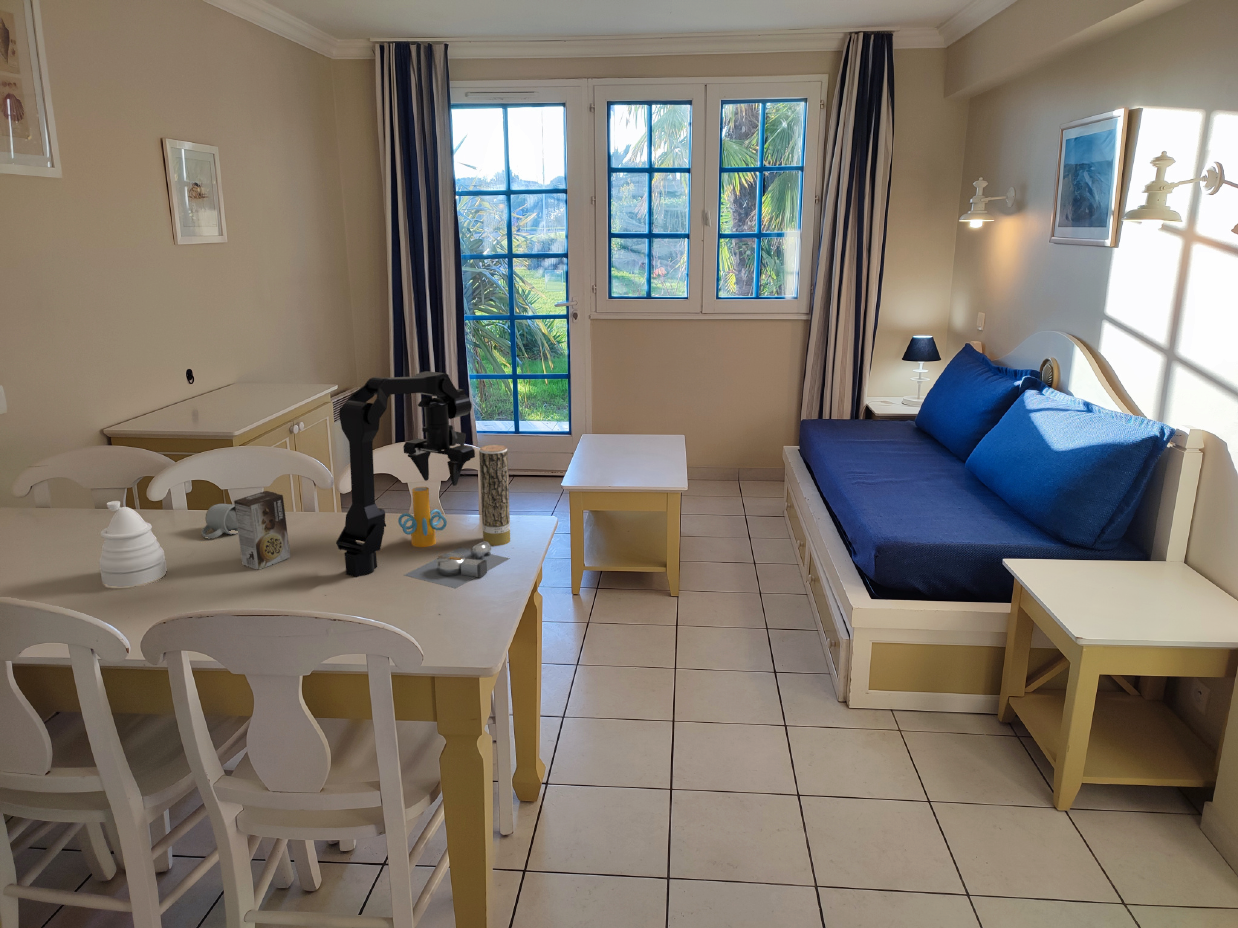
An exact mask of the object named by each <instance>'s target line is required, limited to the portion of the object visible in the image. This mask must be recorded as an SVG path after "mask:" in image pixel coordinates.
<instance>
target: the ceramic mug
mask: <svg viewBox="0 0 1238 928" xmlns="http://www.w3.org/2000/svg"><path fill="white" fill-rule="evenodd" d="M204 518H205V523H206V525H205V526H204V527H203V528H202V529H201V536H202V537H203V536H204V537H208V538H214V537H216V538H218V537H219V536H221V535H222V534H228V535H232V534H236V533H230V532H229V531H231V530H235V531H238V527H237V519H236V512H235V504H232V503H231V504H229V503H218V504H214V505H212V506H210V507H209V508H208V509H207V511H206V513H205V517H204ZM209 530H212V531H214V532H211V533H209V534H207V533H208V532H209ZM236 535H237V534H236ZM204 537H203V538H204ZM214 539H215V538H214Z"/></svg>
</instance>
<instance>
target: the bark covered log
mask: <svg viewBox="0 0 1238 928" xmlns="http://www.w3.org/2000/svg"><path fill="white" fill-rule="evenodd" d="M478 449H479V450H478V452H479V455H478V456H479V474H480V475H479V476H480V477H479V480H480V481H479V482H480V500H481V502H480V504H481V522H482V524H481V525H482V540H483V541H486V542H488V543H489V544H490V546H491V547H492V546H493V547H498V546H504V545H507V544H510V542H511V522H510V521H511V520H510V519H511V517H510V514H511V513H510V492H509V491H510V490H509V489H510V488H509V484H510V483H509V457H508V455H509V454H508V447H507V446H505V445H501V444H489V445H482V446H480V447H478ZM483 541H482V542H483Z"/></svg>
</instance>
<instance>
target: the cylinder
mask: <svg viewBox="0 0 1238 928" xmlns="http://www.w3.org/2000/svg"><path fill="white" fill-rule="evenodd" d="M411 493H412V506H413V508H412V509H413V515H412V514H410V513H407V512H404V513H402V514H400V516H399V517H398V521H397V522H398V525H399V527H400V528H402V531H403V533H404V534H405V535H410V539H411V540H410V542H411V546H413V547H416V548H427V547H428V548H429V547H431V546H433V545H435V544H437V535H436V532H437V531H443V530H445V528H446V527H447V524H448V522H447V519H446V517H445V516H444V515H442V512H441V511H440V510H439V509H437V508H435V509H432V510H431V503H430V500H431V499H430V488H429V487H427V486H417V487H413V488H412V489H411ZM435 513H436V514H435ZM405 517H407V518H406V519H405V520H404V521H403V522H402V520H403V518H405ZM436 518H438V519H437V520H436V522H434V519H436ZM441 521H442V522H443V525H442V526H439V527H438V525H439V524H440V523H441ZM409 522H411V525H409V526H407V524H408V523H409ZM409 530H410V531H409Z"/></svg>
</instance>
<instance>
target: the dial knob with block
mask: <svg viewBox="0 0 1238 928" xmlns="http://www.w3.org/2000/svg"><path fill="white" fill-rule="evenodd" d="M435 560H437V573H438V574H440V575H443V576H455V575H459V574H461V575H467V576H474V577H476V578H483V576H485V575H486V574H488V571H487V560H483V561H480V560H473V559H466V560H465V556H464V555H462V554H459V553H450V552H448V553H444V554H441V555H439V556H437V557H436V559H435Z"/></svg>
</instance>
